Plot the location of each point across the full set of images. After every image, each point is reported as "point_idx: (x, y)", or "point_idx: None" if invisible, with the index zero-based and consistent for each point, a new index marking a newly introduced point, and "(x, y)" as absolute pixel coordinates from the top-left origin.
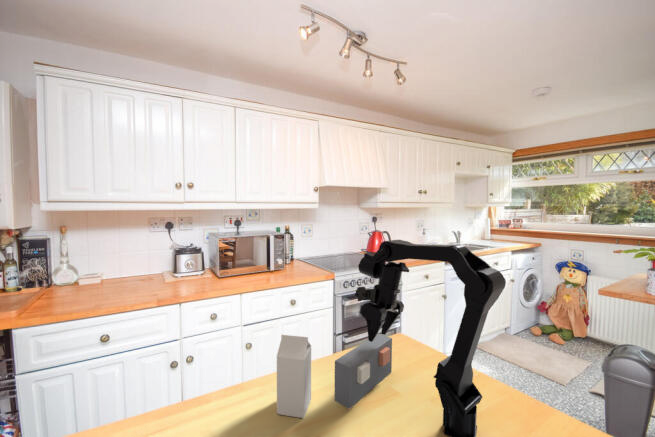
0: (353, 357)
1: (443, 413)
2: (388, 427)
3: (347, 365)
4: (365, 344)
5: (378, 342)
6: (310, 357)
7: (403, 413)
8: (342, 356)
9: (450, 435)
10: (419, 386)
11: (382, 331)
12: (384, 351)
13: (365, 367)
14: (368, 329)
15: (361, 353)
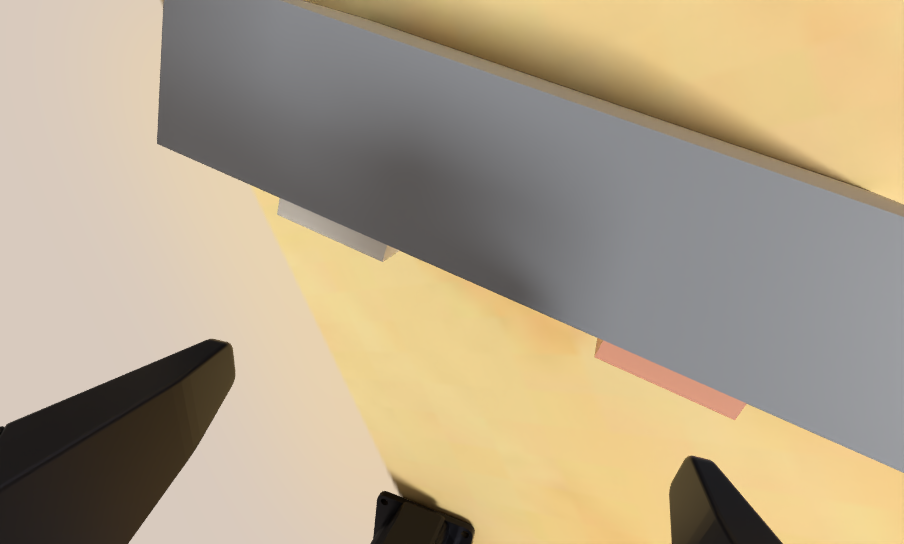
0: (299, 121)
1: (385, 538)
2: (328, 310)
3: (170, 113)
4: (622, 174)
5: (736, 325)
6: None
7: (425, 366)
8: (259, 2)
9: (377, 509)
10: (666, 455)
11: (691, 491)
12: (641, 366)
13: (324, 233)
14: (22, 433)
15: (398, 180)
